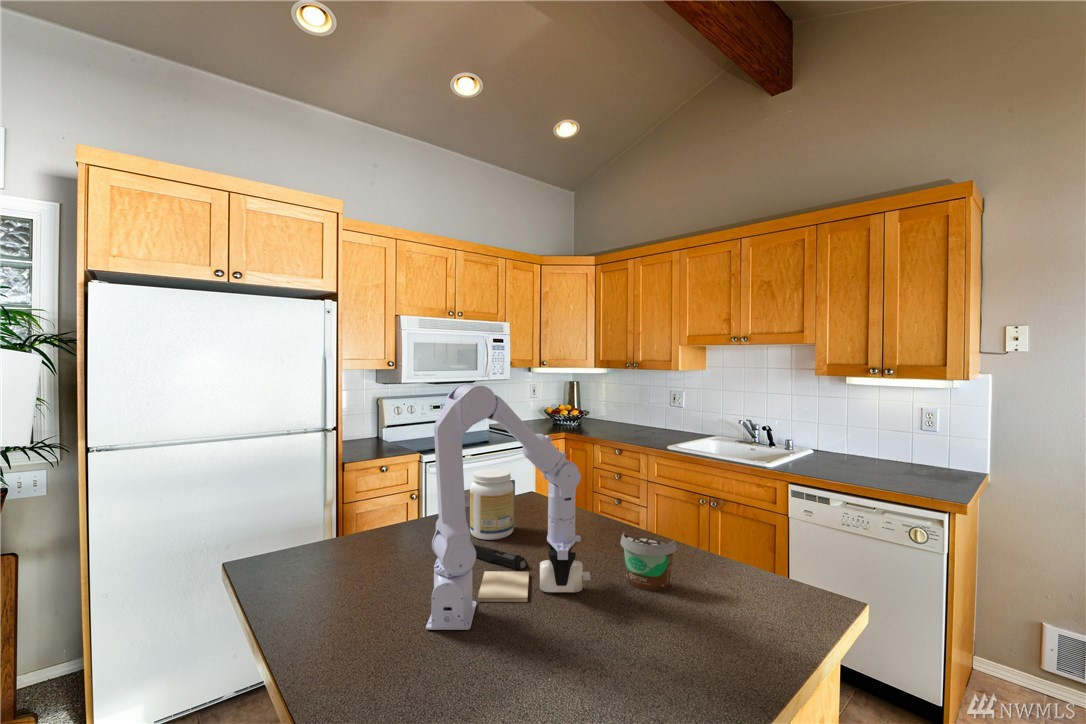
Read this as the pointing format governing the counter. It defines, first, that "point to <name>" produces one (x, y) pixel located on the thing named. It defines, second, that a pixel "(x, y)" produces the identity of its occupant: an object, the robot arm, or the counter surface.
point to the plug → (573, 581)
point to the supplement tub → (491, 504)
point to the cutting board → (504, 586)
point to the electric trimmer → (501, 558)
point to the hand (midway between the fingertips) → (561, 579)
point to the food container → (648, 562)
